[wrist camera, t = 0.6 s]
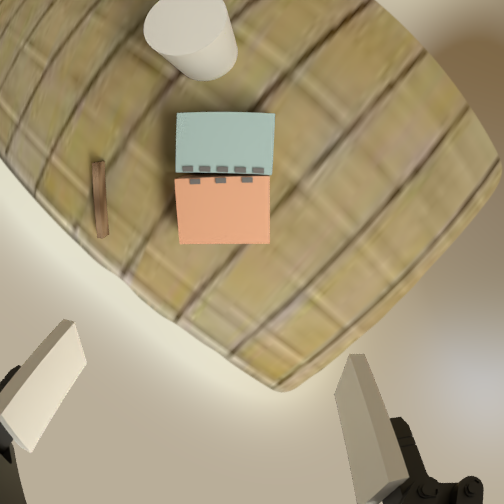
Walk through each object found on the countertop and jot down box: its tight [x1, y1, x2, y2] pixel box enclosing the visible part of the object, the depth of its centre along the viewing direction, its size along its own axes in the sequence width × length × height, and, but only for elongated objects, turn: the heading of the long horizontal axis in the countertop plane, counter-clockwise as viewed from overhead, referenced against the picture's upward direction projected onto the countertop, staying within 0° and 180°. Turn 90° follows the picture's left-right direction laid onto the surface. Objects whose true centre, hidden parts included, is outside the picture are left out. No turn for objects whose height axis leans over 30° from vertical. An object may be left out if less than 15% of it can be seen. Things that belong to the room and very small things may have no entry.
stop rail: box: [92, 161, 109, 238], centre depth 37 cm, size 11×1×2 cm, turn 177°
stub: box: [175, 173, 270, 244], centre depth 36 cm, size 8×11×5 cm
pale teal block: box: [176, 112, 275, 175], centre depth 33 cm, size 7×11×5 cm, turn 88°
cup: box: [144, 0, 238, 81], centre depth 25 cm, size 8×8×12 cm
